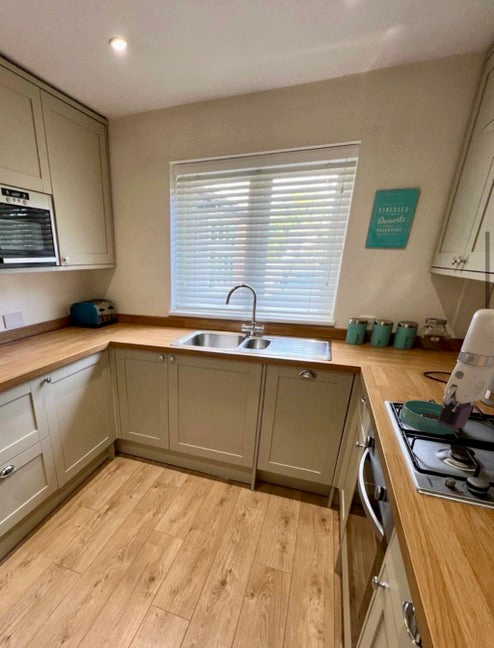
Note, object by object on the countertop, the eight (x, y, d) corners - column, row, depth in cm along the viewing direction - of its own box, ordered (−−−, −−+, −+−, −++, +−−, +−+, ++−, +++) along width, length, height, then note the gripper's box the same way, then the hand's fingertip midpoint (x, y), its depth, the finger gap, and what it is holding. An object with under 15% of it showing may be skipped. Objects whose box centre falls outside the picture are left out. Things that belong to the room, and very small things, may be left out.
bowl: (439, 415, 112) (443, 402, 111) (466, 438, 99) (472, 424, 97) (391, 411, 115) (395, 398, 113) (412, 433, 101) (417, 419, 99)
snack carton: (447, 419, 95) (455, 398, 92) (464, 426, 91) (473, 405, 88) (437, 421, 93) (444, 401, 91) (453, 429, 89) (462, 408, 87)
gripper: (472, 367, 78) (445, 432, 86) (514, 360, 84) (486, 422, 91) (439, 357, 85) (418, 419, 92) (481, 351, 91) (457, 410, 98)
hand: (452, 420), depth 92 cm, fingers closed on snack carton, 4 cm apart
